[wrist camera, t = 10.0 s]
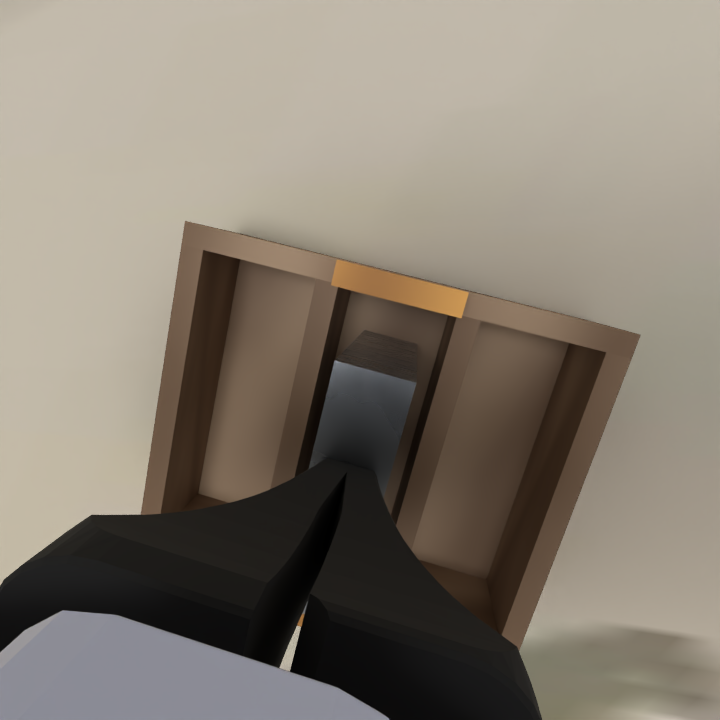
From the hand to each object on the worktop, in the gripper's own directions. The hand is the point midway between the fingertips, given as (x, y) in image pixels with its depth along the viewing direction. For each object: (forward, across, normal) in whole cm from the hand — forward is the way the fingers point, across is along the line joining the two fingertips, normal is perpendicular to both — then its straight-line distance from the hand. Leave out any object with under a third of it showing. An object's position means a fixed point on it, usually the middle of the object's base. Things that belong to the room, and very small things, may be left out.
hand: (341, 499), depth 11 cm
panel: (+6, 0, 0) cm, 6 cm away
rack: (+7, 0, 0) cm, 7 cm away
